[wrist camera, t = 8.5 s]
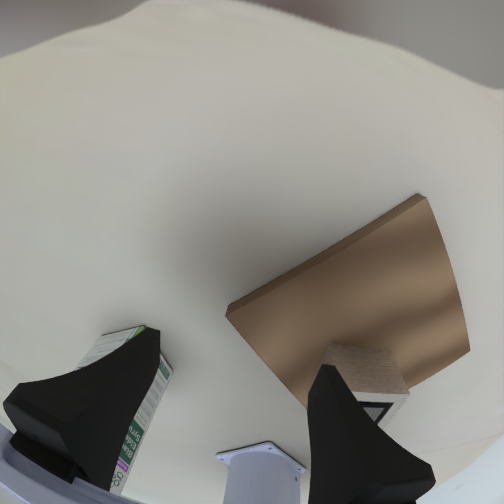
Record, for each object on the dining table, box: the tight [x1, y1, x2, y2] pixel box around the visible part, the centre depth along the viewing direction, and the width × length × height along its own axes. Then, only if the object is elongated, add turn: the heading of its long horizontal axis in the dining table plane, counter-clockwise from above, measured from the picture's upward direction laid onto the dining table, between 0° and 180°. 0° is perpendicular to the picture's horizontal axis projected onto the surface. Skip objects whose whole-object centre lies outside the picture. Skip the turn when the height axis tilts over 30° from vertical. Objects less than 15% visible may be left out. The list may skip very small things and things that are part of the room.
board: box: [225, 194, 470, 409], centre depth 21 cm, size 16×16×2 cm
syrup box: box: [74, 326, 173, 496], centre depth 18 cm, size 6×6×14 cm
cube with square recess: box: [307, 342, 410, 430], centre depth 19 cm, size 6×6×5 cm
